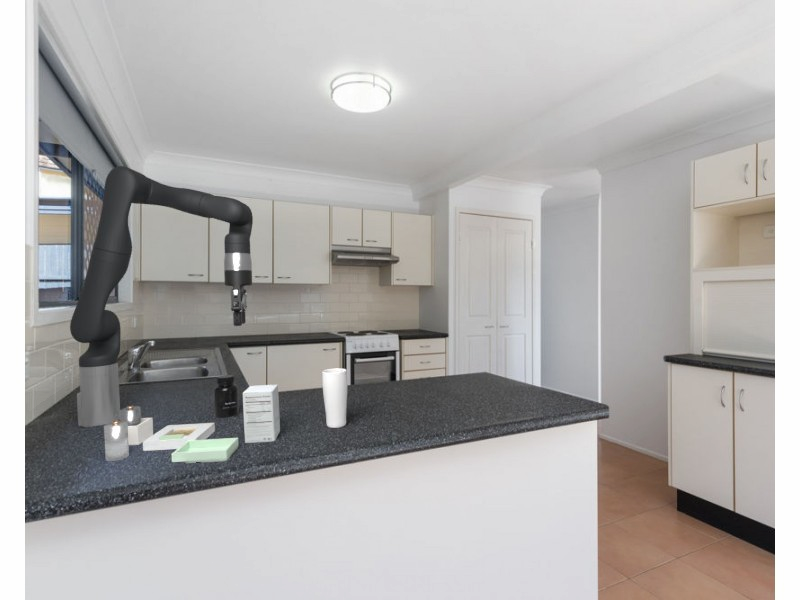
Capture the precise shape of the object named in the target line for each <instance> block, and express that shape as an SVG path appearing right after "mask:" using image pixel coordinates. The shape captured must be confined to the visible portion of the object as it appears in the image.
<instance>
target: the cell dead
mask: <svg viewBox="0 0 800 600" xmlns="http://www.w3.org/2000/svg"><path fill="white" fill-rule="evenodd" d="M141 409H142V408H141V406H139V405H137V406H135V405H128V406H126V407H123V408H120V419H119V421H127V422H128V426H137V425H138V424H140V423H141V418H142V413H141Z"/></svg>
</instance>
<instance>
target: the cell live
mask: <svg viewBox="0 0 800 600" xmlns="http://www.w3.org/2000/svg"><path fill="white" fill-rule="evenodd" d="M103 432H104V433H103V434H104V435H103V436H104V455H105V456H104V457H105V461H106V462H115V461H121V460H123V459H126V458H128V457H129V456H130V445H129V442H128V422H127V421H120V420H117V421H113V422H112V423H108V424H104V425H103Z"/></svg>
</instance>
